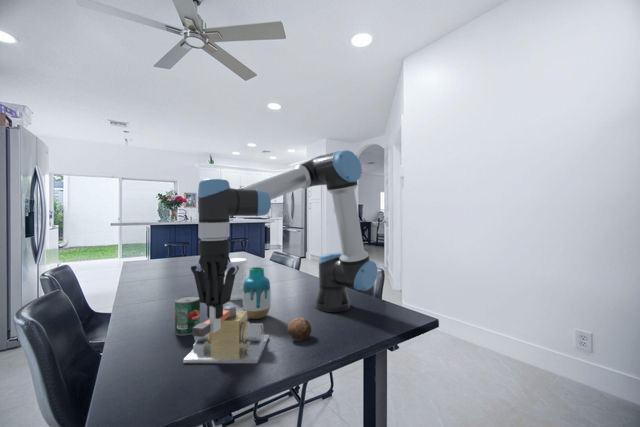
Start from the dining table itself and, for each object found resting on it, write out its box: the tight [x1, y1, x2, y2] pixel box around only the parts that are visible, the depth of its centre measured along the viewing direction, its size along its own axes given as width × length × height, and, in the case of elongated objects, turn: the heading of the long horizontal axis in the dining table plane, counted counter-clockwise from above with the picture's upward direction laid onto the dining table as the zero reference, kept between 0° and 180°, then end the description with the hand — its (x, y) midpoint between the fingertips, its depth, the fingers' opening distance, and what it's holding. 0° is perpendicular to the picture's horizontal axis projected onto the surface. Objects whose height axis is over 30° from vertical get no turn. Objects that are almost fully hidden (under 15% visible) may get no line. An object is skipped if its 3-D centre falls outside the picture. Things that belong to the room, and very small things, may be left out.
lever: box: [192, 305, 237, 337], centre depth 74 cm, size 17×4×2 cm, turn 169°
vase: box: [242, 266, 272, 320], centre depth 105 cm, size 11×11×19 cm
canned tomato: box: [174, 295, 201, 337], centre depth 94 cm, size 8×8×11 cm
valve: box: [182, 310, 269, 364], centre depth 80 cm, size 20×15×10 cm
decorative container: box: [224, 257, 248, 301], centre depth 133 cm, size 12×12×18 cm
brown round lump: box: [286, 317, 312, 342], centre depth 89 cm, size 8×8×6 cm
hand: (215, 330), depth 70 cm, fingers closed
